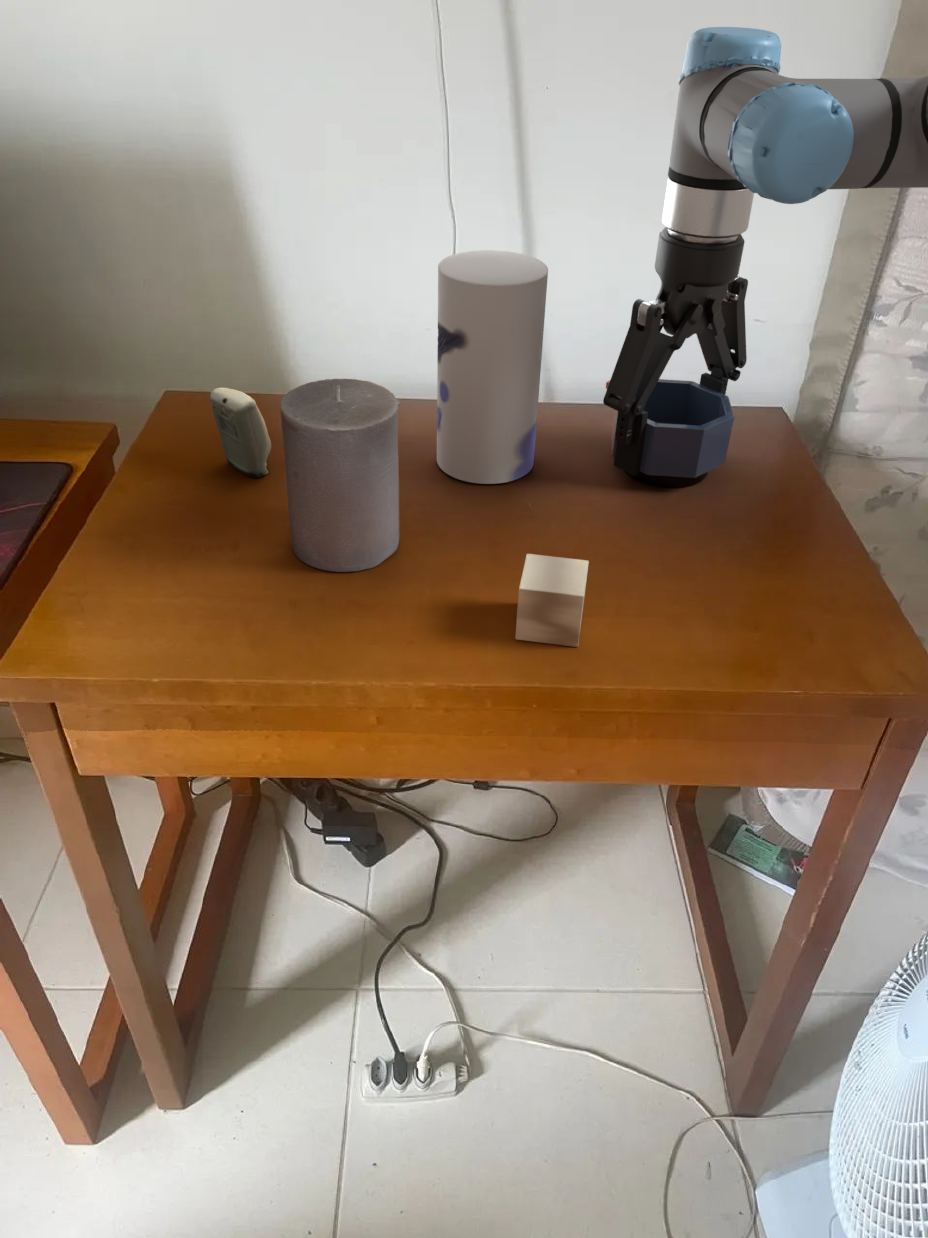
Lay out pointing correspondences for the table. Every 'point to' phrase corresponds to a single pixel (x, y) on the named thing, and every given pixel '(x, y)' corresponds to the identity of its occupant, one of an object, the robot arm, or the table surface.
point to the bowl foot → (667, 480)
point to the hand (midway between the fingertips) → (665, 452)
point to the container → (489, 363)
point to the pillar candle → (342, 473)
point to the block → (551, 600)
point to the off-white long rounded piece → (241, 431)
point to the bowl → (683, 429)
